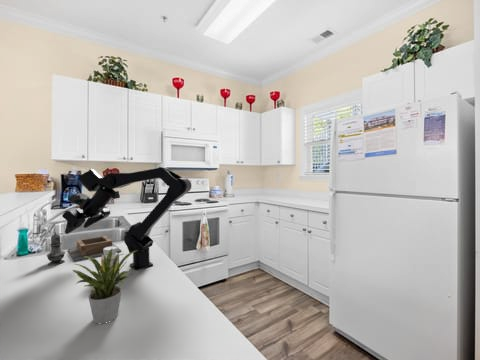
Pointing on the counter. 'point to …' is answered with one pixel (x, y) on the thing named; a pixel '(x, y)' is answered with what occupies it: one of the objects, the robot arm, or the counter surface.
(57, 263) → the grey stone pawn figure
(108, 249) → the supplement bottle
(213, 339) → the counter surface
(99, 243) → the end holder
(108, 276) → the house plant
